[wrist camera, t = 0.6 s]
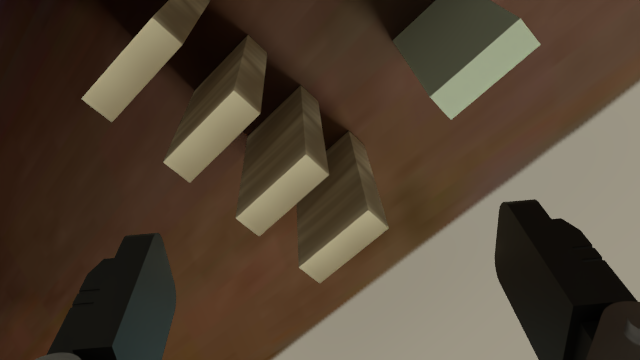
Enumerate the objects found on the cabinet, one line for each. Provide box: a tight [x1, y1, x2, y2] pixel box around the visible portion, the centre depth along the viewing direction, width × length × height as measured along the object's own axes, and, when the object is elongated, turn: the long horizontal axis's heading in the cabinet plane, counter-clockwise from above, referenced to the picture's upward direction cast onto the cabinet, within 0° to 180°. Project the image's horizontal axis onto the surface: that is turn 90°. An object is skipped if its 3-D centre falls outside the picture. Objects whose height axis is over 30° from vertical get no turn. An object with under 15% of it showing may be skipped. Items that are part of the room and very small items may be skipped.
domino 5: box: [393, 0, 541, 120], centre depth 29 cm, size 2×5×10 cm, turn 134°
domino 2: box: [163, 35, 267, 183], centre depth 30 cm, size 2×5×10 cm, turn 133°
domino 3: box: [236, 85, 329, 236], centre depth 31 cm, size 2×5×10 cm, turn 134°
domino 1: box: [82, 0, 210, 122], centre depth 28 cm, size 2×5×10 cm, turn 134°
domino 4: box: [297, 131, 389, 283], centre depth 33 cm, size 2×5×10 cm, turn 134°
